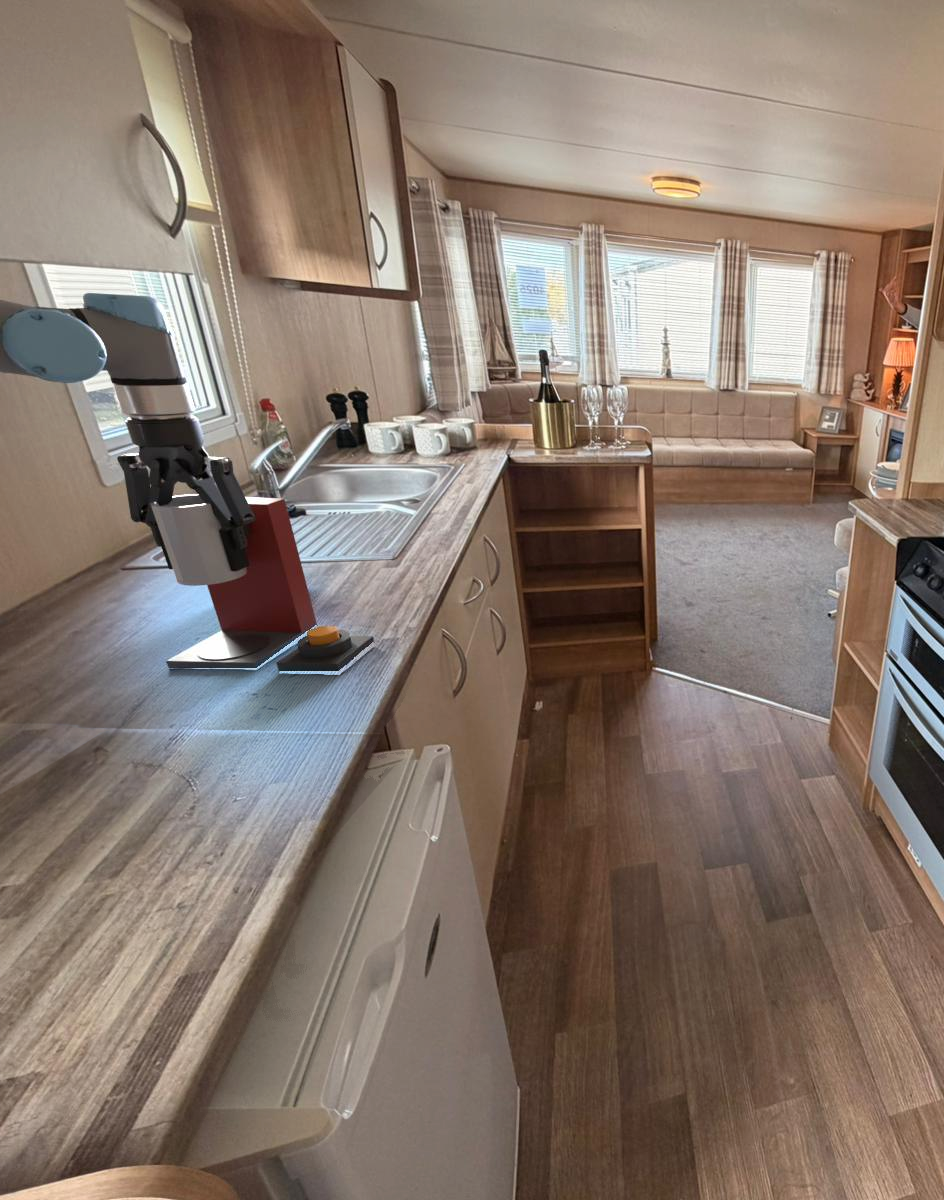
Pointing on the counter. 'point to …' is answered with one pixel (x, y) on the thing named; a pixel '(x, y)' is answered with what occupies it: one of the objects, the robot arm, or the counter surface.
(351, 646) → the control block
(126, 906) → the counter surface
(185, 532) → the white tumbler
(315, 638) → the button
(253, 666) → the coffee machine
